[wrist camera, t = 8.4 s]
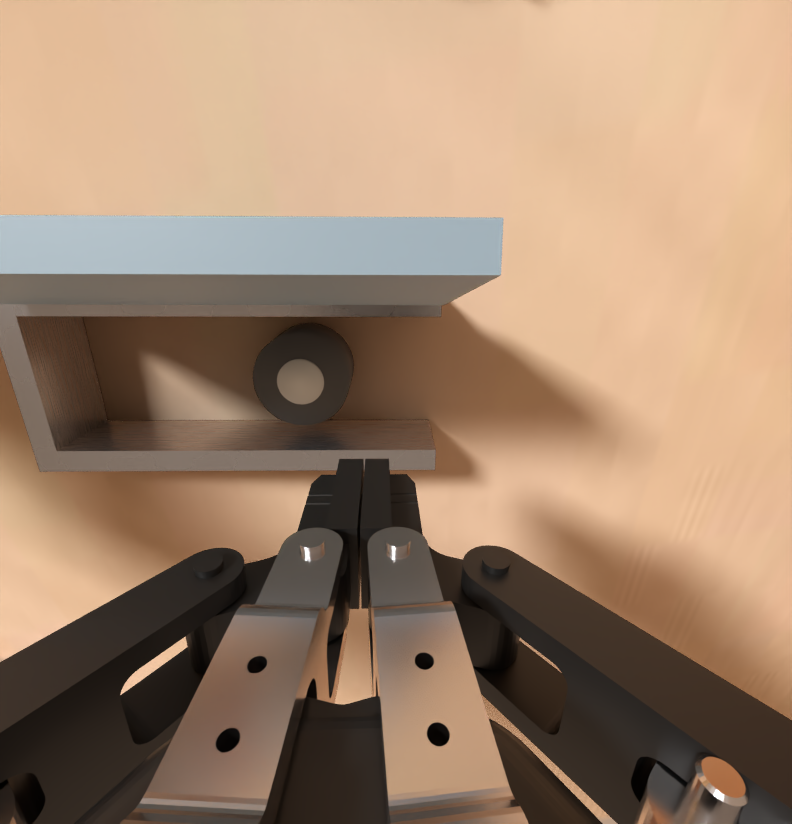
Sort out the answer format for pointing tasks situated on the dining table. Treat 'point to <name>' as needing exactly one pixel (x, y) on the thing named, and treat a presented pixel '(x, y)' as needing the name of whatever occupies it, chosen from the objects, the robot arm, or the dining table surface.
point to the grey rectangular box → (179, 439)
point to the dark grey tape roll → (304, 374)
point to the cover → (245, 259)
